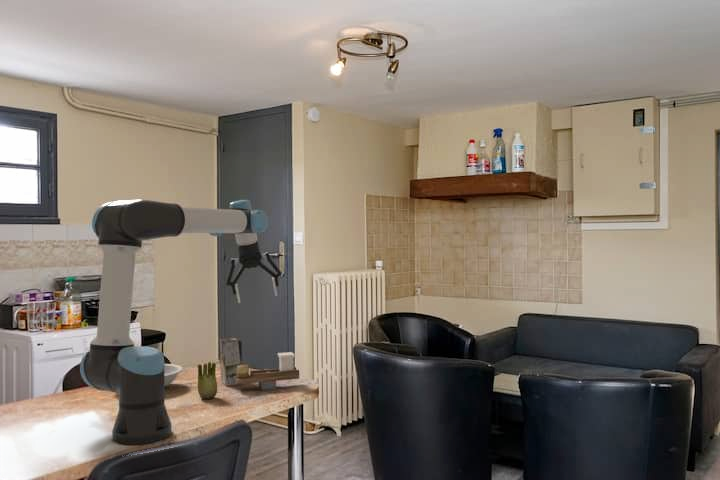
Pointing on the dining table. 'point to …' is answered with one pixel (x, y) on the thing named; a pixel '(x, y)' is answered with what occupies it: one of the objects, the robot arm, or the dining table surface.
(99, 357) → the robot arm
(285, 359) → the white rounded block
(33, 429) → the dining table surface
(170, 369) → the soup bowl
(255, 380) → the beam
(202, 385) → the fennel bulb
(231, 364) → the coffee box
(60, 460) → the dining table surface
